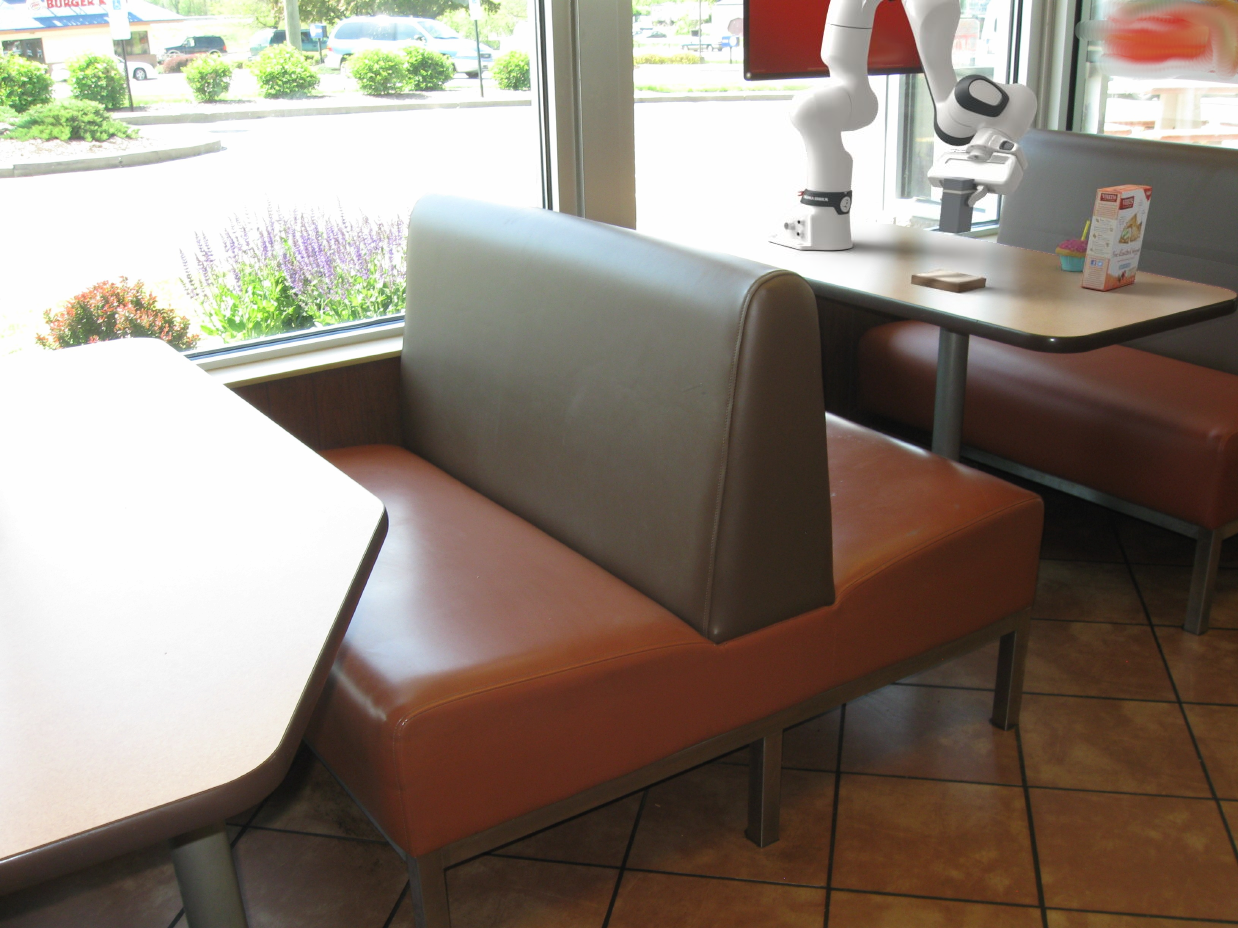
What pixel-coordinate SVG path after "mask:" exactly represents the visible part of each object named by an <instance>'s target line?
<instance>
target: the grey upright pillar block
mask: <svg viewBox="0 0 1238 928" xmlns="http://www.w3.org/2000/svg"><path fill="white" fill-rule="evenodd" d="M975 188H976V184H974V179H973V178H963V177H951V178H944V183H943V188H942V191H941V192H942V194H941V196H942V202H940V203H941V207H940V213H939V215H940V216H939V225H938V232H940V233H948V234H955V235H958V234H965V233H971V231H972V221H973V216H974V215H973V212H974V206H973V207H966V206H965V204H964V200H965V199H966V197H967V196H968V195H969V196H971V195H972V194H974V193H975V191H976V189H975Z"/></svg>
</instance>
